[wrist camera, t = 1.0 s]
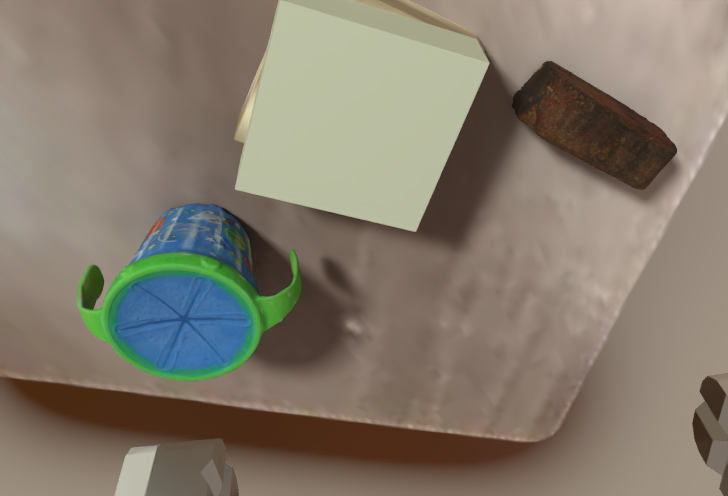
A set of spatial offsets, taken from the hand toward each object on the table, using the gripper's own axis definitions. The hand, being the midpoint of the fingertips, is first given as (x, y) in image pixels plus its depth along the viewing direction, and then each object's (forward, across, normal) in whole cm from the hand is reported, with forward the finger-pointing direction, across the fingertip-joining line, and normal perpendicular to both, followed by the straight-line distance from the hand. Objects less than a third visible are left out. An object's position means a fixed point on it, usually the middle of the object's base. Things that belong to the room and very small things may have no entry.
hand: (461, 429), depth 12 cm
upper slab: (+33, +1, +8) cm, 34 cm away
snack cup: (+37, +14, +20) cm, 44 cm away
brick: (+37, -15, +13) cm, 42 cm away
